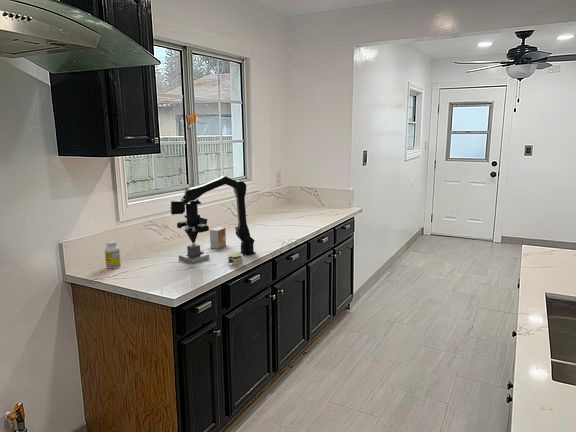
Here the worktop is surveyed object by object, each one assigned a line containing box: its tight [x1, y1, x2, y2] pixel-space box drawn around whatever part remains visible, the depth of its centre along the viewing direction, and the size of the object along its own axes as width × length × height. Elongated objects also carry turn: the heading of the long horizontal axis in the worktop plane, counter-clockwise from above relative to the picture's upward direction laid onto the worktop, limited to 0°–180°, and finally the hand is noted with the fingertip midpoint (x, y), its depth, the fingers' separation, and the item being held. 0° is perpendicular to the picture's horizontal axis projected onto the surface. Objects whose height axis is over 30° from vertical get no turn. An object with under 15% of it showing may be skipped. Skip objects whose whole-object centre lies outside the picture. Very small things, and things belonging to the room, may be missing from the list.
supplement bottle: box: [104, 240, 122, 270], centre depth 213 cm, size 7×7×13 cm
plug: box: [186, 242, 201, 257], centre depth 225 cm, size 4×5×8 cm
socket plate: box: [178, 250, 210, 265], centre depth 226 cm, size 11×11×3 cm
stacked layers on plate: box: [227, 252, 244, 268], centre depth 217 cm, size 10×9×6 cm
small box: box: [209, 226, 227, 249], centre depth 249 cm, size 8×6×10 cm
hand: (193, 242), depth 224 cm, fingers closed
